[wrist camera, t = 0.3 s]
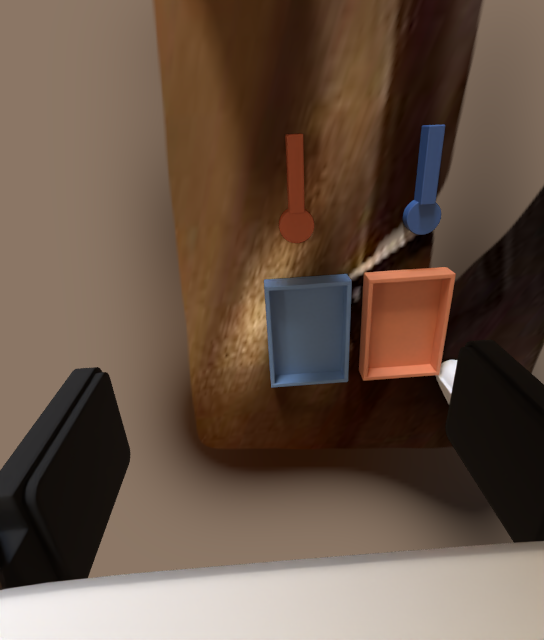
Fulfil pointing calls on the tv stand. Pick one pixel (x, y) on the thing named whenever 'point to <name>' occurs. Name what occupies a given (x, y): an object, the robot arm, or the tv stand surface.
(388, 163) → the tv stand surface
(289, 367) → the blue tray
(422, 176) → the blue spoon
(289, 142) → the terracotta spoon
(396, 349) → the terracotta tray
